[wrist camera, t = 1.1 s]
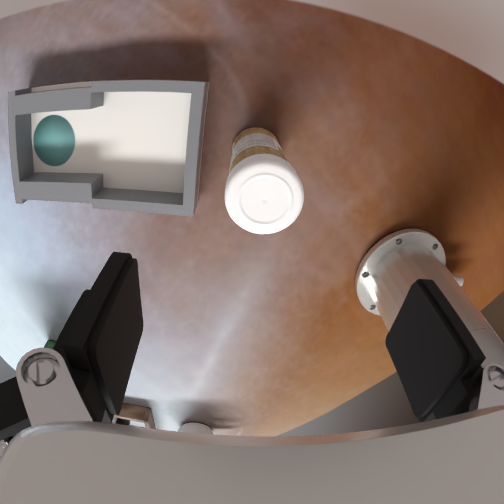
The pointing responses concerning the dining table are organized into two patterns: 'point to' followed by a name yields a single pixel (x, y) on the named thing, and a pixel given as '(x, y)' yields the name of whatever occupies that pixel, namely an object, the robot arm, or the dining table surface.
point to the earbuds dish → (137, 414)
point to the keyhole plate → (110, 144)
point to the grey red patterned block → (120, 421)
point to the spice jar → (262, 184)
